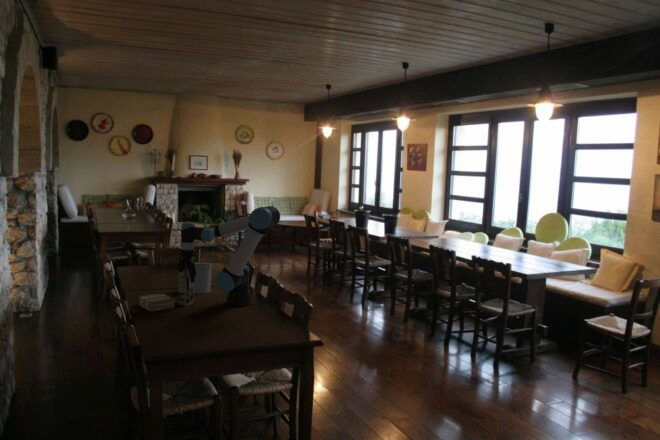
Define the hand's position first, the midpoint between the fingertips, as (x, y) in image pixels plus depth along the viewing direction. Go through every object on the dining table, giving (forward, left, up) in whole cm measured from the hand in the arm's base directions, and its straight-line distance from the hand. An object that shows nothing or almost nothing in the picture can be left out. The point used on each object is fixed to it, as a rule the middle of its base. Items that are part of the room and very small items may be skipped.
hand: (186, 285), depth 315 cm
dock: (+2, +17, -11) cm, 20 cm away
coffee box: (0, 0, -11) cm, 11 cm away
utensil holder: (+24, -20, -11) cm, 33 cm away
